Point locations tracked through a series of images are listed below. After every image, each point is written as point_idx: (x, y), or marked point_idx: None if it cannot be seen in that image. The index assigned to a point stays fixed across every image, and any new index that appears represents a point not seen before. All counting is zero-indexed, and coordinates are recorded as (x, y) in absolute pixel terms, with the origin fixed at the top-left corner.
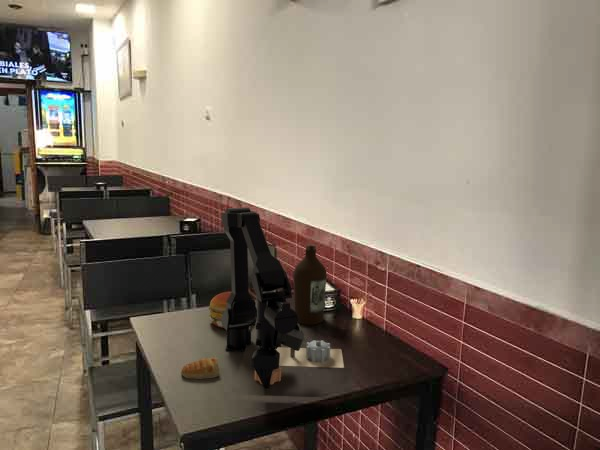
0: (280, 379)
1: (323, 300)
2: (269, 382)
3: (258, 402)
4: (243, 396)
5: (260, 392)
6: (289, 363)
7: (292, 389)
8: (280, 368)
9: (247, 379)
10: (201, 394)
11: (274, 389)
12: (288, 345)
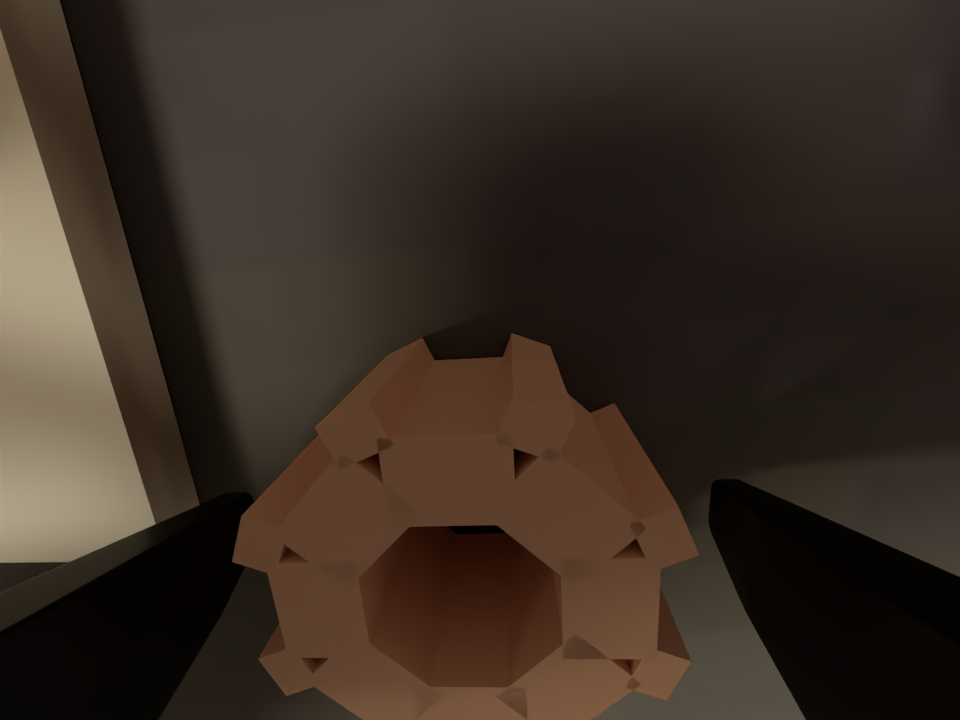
0: (521, 354)
1: None
2: (831, 526)
3: (921, 523)
4: None
5: (704, 526)
6: (1, 276)
7: (624, 162)
8: (384, 412)
9: None
10: None
11: (633, 391)
12: None
